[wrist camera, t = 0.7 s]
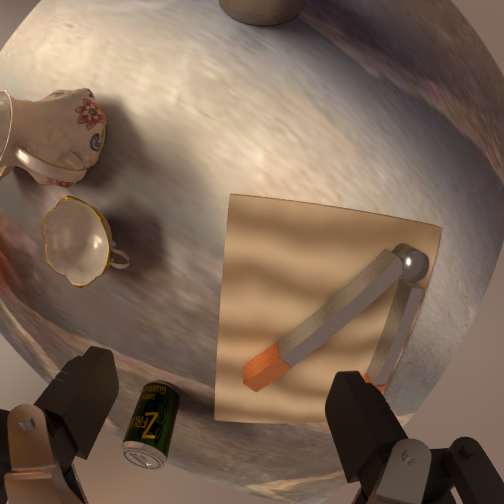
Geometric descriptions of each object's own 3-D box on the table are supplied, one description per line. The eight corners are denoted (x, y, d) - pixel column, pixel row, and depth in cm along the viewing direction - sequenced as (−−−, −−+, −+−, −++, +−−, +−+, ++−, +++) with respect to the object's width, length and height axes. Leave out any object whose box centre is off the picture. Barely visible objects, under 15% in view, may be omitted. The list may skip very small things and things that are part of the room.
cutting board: (230, 193, 26) (229, 194, 24) (434, 225, 27) (442, 227, 26) (214, 412, 34) (214, 420, 33) (367, 409, 36) (370, 416, 34)
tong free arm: (400, 230, 25) (417, 237, 22) (417, 257, 26) (433, 267, 23) (243, 365, 29) (243, 384, 26) (267, 383, 30) (269, 401, 27)
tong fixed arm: (398, 278, 27) (412, 289, 24) (411, 279, 27) (425, 289, 24) (353, 398, 32) (359, 413, 30) (365, 397, 33) (372, 411, 30)
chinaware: (-3, 169, 24) (-87, 197, 9) (38, 60, 19) (-56, 48, 4) (129, 278, 30) (51, 376, 14) (202, 151, 24) (114, 161, 9)
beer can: (187, 402, 33) (174, 471, 22) (155, 406, 34) (136, 469, 22) (169, 376, 32) (148, 448, 20) (137, 381, 32) (110, 446, 21)
